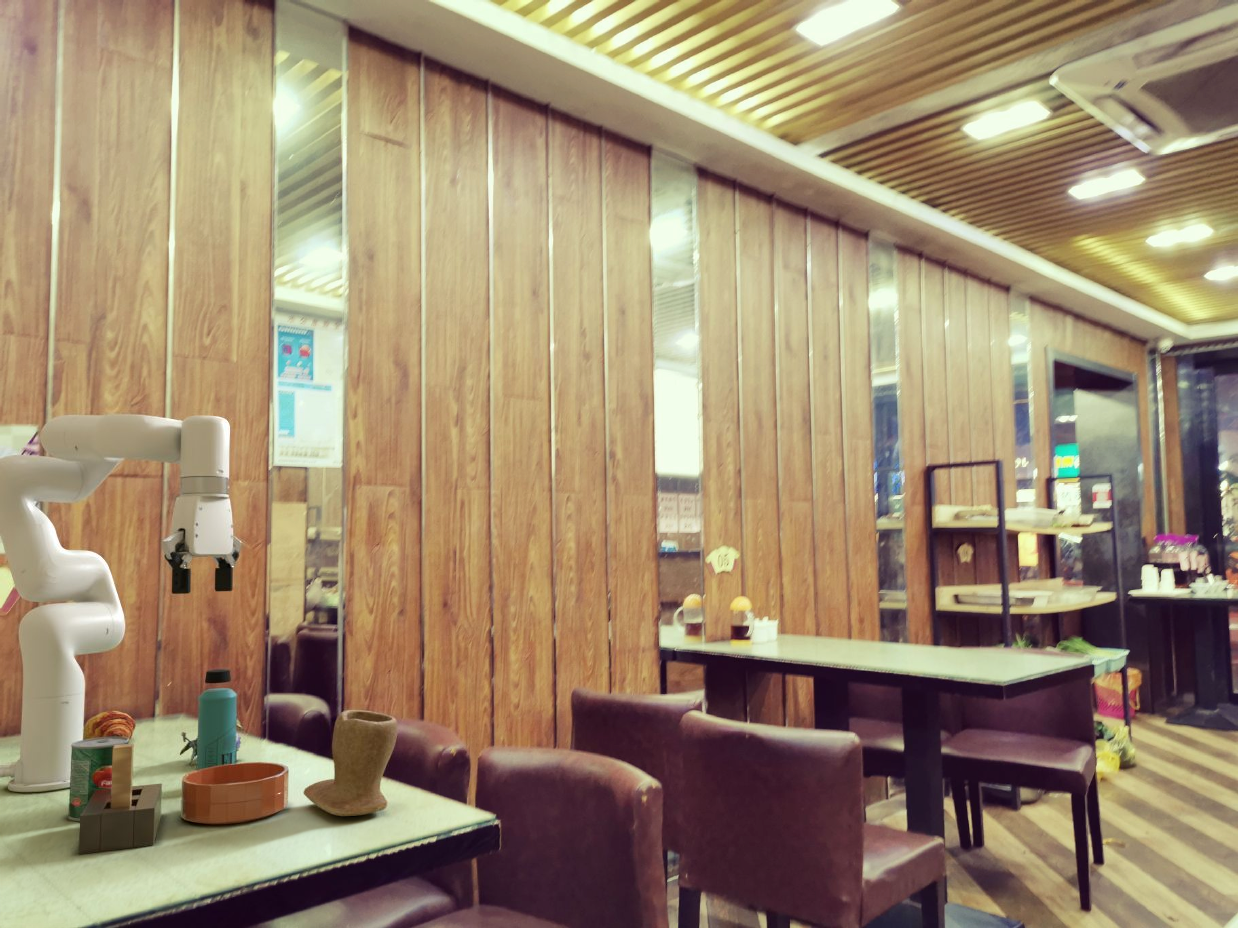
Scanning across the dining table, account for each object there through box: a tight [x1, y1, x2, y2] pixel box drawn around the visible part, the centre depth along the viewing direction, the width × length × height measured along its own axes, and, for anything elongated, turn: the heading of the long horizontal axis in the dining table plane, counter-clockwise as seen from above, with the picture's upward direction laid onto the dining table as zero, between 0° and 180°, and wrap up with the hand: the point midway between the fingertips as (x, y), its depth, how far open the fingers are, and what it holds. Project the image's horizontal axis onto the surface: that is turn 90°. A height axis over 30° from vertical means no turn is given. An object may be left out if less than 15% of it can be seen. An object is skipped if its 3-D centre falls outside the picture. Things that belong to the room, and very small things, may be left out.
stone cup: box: [303, 709, 399, 817], centre depth 145 cm, size 15×12×15 cm
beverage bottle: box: [195, 668, 238, 770], centre depth 160 cm, size 6×7×20 cm
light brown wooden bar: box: [111, 743, 135, 808], centre depth 130 cm, size 2×2×13 cm
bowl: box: [180, 761, 289, 825], centre depth 143 cm, size 15×15×6 cm
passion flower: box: [179, 718, 245, 765], centre depth 179 cm, size 11×11×12 cm
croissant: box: [83, 710, 137, 740], centre depth 202 cm, size 21×10×8 cm, turn 41°
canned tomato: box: [67, 737, 130, 822], centre depth 144 cm, size 8×8×11 cm
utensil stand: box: [78, 783, 163, 855], centre depth 133 cm, size 9×16×5 cm, turn 23°
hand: (202, 592), depth 153 cm, fingers open, 9 cm apart
